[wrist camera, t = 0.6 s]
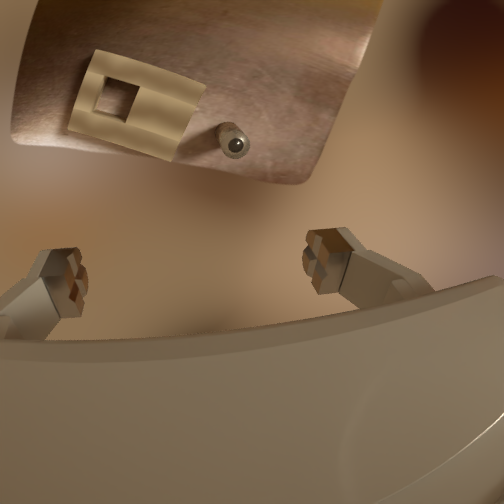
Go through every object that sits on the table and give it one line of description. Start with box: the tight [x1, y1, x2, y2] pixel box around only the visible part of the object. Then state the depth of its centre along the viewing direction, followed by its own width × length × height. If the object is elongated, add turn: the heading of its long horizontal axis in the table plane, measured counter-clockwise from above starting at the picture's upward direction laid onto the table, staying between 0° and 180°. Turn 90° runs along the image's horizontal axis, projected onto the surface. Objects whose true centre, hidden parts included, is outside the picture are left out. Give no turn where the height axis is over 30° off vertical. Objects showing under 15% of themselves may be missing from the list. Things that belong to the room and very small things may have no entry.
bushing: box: [215, 122, 250, 159], centre depth 43 cm, size 4×4×8 cm
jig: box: [67, 49, 206, 162], centre depth 38 cm, size 13×18×4 cm
